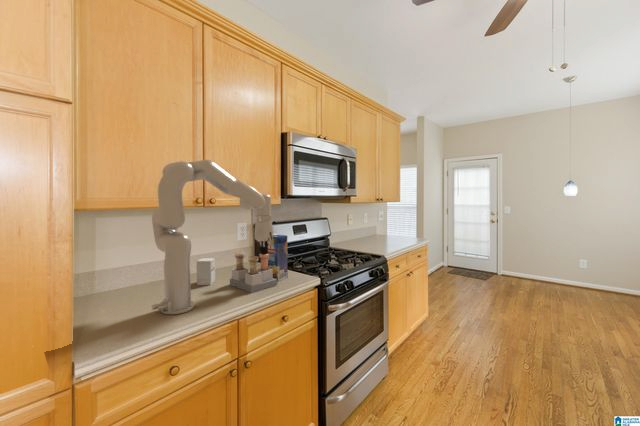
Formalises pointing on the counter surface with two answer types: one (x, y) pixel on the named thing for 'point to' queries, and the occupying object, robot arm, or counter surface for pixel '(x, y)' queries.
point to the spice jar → (253, 264)
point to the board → (252, 280)
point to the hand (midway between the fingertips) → (264, 253)
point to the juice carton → (278, 257)
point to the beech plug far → (240, 261)
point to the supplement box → (205, 271)
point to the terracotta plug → (264, 261)
